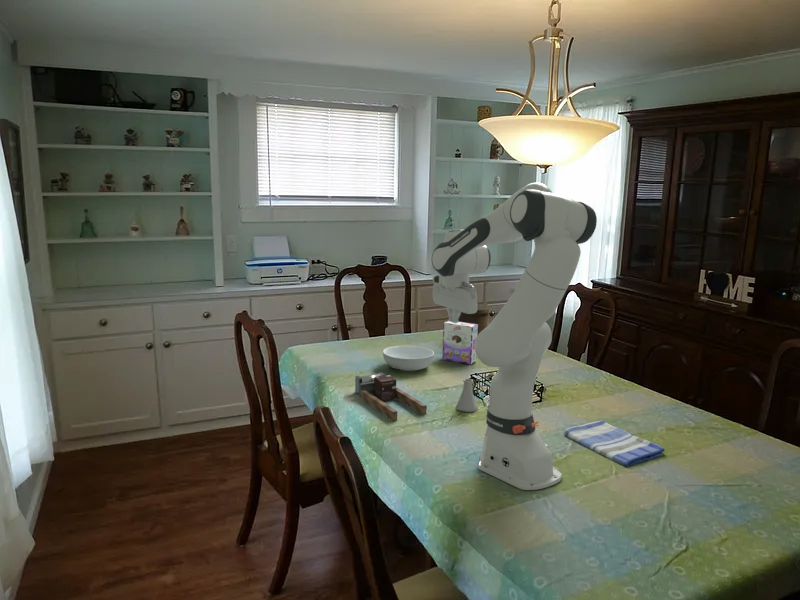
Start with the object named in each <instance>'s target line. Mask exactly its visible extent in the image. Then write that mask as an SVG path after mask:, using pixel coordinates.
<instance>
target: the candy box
mask: <svg viewBox="0 0 800 600" xmlns="http://www.w3.org/2000/svg"><path fill="white" fill-rule="evenodd" d="M442 324H443V328H442V329H443V332H442V360H445V361H449V362H455V363H461V364H466V365H472V364H474V363H476V362H477V354H476V351H475V340H476V337H477V333H478V325H477V324H470V323H464V322H458V323H453V322H450V321H449V320H447V321H445V322H443V323H442Z"/></svg>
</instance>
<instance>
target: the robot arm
mask: <svg viewBox="0 0 800 600" xmlns="http://www.w3.org/2000/svg"><path fill="white" fill-rule="evenodd" d="M597 219H598V218H597V214H596V212H595V210H594V208H592V207H591V206H590V205H588V204H586V203H584V202H583V201H578V200H577V201H576V200H575V199H572V198H568V197H566V196H563V195H562V194H558V193H554V192H553V191H552V190H551V188H550V187H548V186H547V185H546V184H544V183H541V182H531V183H528V184H526V185H525V186H524V187H523V186H522V188H520V189H519V190H517V191H516V192H514V193H513V194H511V196H510V197H508V198H507V199H506V200H505V201H504V202H503V203H502V204H501V205H499V206H498V207H496V208H495V209H494V210H492V211H491V212H490V213H488V214H486V215H484V216H483V217H481V218H479V219H477V220H476V221H474V222H472V223H471V224H469V225H468V226H467V227H465V229H456V230H455V229H453V230H449V231H447V232H446V233H445V236H444V238H443V239H444V240H443V242H440V243H439V244H438V245H436V247H435V249H434V250H433V252H432V253H431V254H432V255H431V265H432V267H433V268H434V270H435V271H436V272H437V274H436V275H433V277H432V282H433V285H432V301H433V303H434V304H435V305H439V306H442V307H445V308H446V312H447V315H448V321H450V322H453V323H458V319H459V316H460V314H461V312H463V313H466V314H473V313H476V312H477V304H478V301H477V300H478V295H477V294H478V293H477V289H476V288H475V286H474V285H473V284H472V283H470V275H477V274H478V275H479V274H483V273H485V272H486V271H487V270H488V269H489V267H490V265H491V262H492V259H491V258H492V255H491V251H490V249H489V247H488V245H489V246H490V245H499V244H510V243H516V242H518V241H520V240H522V239H523V240H525V241H526V242H530V241H531V242H532V241H533V242H534V250H533V253H532V256H531V257H530V258H529V261H528V263H527V264H526V267H525V268H524V271H523V273H522V275H521V276H520V279H519V281H518V283H517V285H516V287H515V289H514V290H513V292H512V294H511V296H510V297H509V299H508V300H507V301H506V303H505V304H504V305H503V307H502V308H501V309H500V310H499V312H498V313H497V314H496V315H495V317H494V318H493V319H492V321H491V322H490V323H488V326H487V327H486V328H485V329H484V330H482V331H481V332H480V333H479V334H478V336H477V337H476V340H475V351H476V357H477V358H478V359H479V360H480V362H481V363H482V364H483V365H484V366H487V367H491V368H498V369H497V371H496V373H495V374H494V376H493V377H492V379H491V380H490V386H489V387H490V388H489V404H488V408H487V411H486V416H485V417H486V425H487V427H486V431H485V433H484V437H483V442H482V450H481V454H480V456H479V462H478V464H477V468H478V470H480V471H482V472H484V473H486V474H488V475H491V476H492V477H494V478H497V479H499V480H501V481H503V482H504V483H507V484H509V485H511V486H512V487H515V488H516V489H519V490H522V491H535V490H536V491H537V490H541V489H545V488H548V487H552V486H553V485H556V484H558V483H560V482H561V481H562V479H563V474H562V473H561V472H560V471H559V470H558V469H556V468H555V467H554V458H553V453H552V452H551V450H550V448H549V445H548V444H546V443H545V442H544V440H542V438H541V437H540V435H539V433H538V432H537V431H536V427H538V426H539V425H538V424H539V421H535V419H534V415H533V411H532V410H533V408H532V407H533V398H534V397H533V396H534V386H535V383H536V379H537V375H538V372H539V369H540V366H541V363H542V361H543V357H544V355H545V353H546V351H547V350H548V349H549V347H550V345H551V344H552V339H553V332H552V329H551V327H550V326H549V324H548V323H547V321H548V320H549V319H550V318H552V316H553V315H554V314H555V313H556V311H557V309H558V306H559V305H560V303H561V301H562V299H563V298H564V296H565V294H566V291H567V289H568V288H569V286H570V284H571V282H572V281H573V278H574V275H575V272H576V270H577V267H578V264H579V262H580V257H581V247H580V245H579V244H585V243H586V242H588V241H589V240H590V239H591V238H592V236H593V234H594V233H595V230H596V228H597V221H598V220H597Z"/></svg>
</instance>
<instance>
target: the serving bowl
mask: <svg viewBox="0 0 800 600" xmlns="http://www.w3.org/2000/svg"><path fill="white" fill-rule="evenodd" d="M382 356H383V360H384V361H385V363H386V364H387V365H388V366H390V367H391V368H393V369H398V370H399V369H400V371H403V370H404V372H413V371H414V372H415V371H418V370H422V369H423V370H424V369H425V368H427V367H429V366H430V365H431V364H432V362H433V360H434V357H435V352H434V351H433V350H432V349H429V348H427V347H425V346H417V345H394V346H388V347H386V348H384V349H383V350H382Z"/></svg>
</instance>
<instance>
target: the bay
mask: <svg viewBox="0 0 800 600" xmlns="http://www.w3.org/2000/svg"><path fill="white" fill-rule="evenodd" d="M358 398H359V399H360V400H362V401H364V402H365V403H366V404H368V405H369V406H370V407H372V408H373V409H375V410H376V411H378V412H379V413H380V414H382V415H383V414H384V416H385V417H386V416H387V417H386V418H387V419H389V418H390V420H391V421H392V422H396V421H398V410H396V409H394V408H393V407H392V406H390V405H388V404H387V403H386V402H385V401H384V402H383V401H381V400H380V399H378V398H377V397H375V396H374V381H372V382H366V383H360V384H359V395H358ZM396 400H397V401H400V402H401V403H402V404H404V405H406V406H407V405H408V406H407V407H409V408H411V409H412V410H413V411H415V410H416V411H415V412H417V413H418V414H419V415H422V416H425V415H427V411H428V410H427V407H428V406H427V404H425V403H424V402H422V401H420V400H419V399H417V398H415V397H413V396H412V395H410V394H408V393H407V392H405V391H403V390H402V389H399V387H397V386H396ZM424 414H425V415H424ZM395 420H396V421H395Z"/></svg>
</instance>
